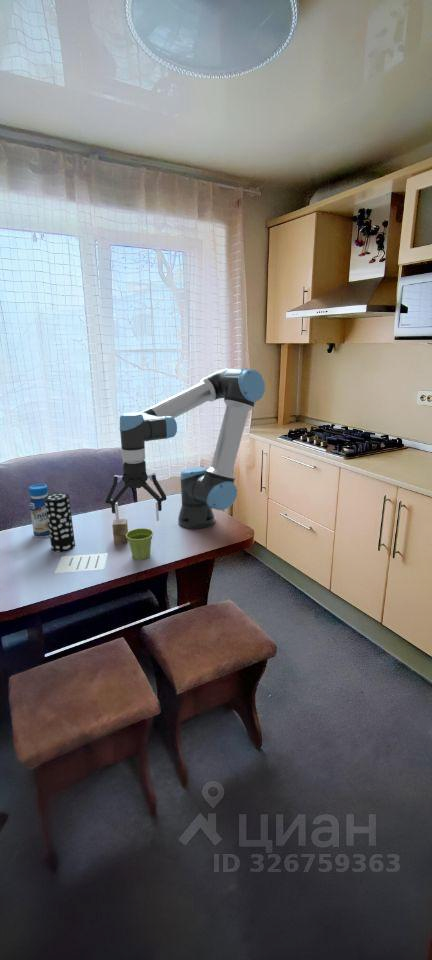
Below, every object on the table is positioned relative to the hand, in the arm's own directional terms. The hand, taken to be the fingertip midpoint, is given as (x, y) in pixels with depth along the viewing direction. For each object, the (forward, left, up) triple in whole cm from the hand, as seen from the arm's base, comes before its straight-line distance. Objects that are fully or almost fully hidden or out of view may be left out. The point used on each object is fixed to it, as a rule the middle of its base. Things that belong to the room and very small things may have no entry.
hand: (137, 520), depth 149 cm
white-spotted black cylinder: (+29, -12, -14) cm, 34 cm away
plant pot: (0, 0, -14) cm, 14 cm away
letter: (+20, +2, -14) cm, 24 cm away
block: (+8, -14, -14) cm, 21 cm away
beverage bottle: (+39, -26, -14) cm, 49 cm away
